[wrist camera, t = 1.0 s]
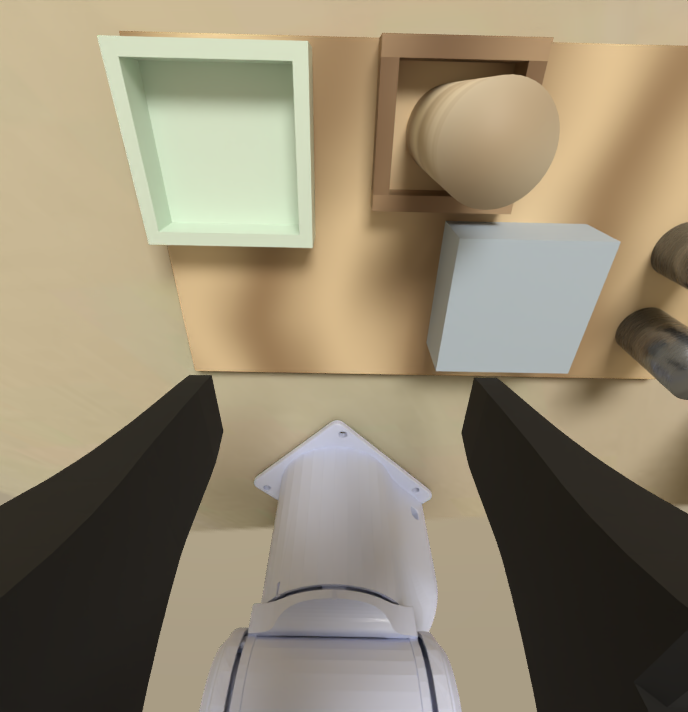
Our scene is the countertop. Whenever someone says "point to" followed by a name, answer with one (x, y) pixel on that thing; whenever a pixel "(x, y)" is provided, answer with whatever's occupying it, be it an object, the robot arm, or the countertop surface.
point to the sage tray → (217, 137)
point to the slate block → (515, 295)
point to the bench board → (444, 205)
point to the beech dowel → (485, 138)
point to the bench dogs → (662, 320)
